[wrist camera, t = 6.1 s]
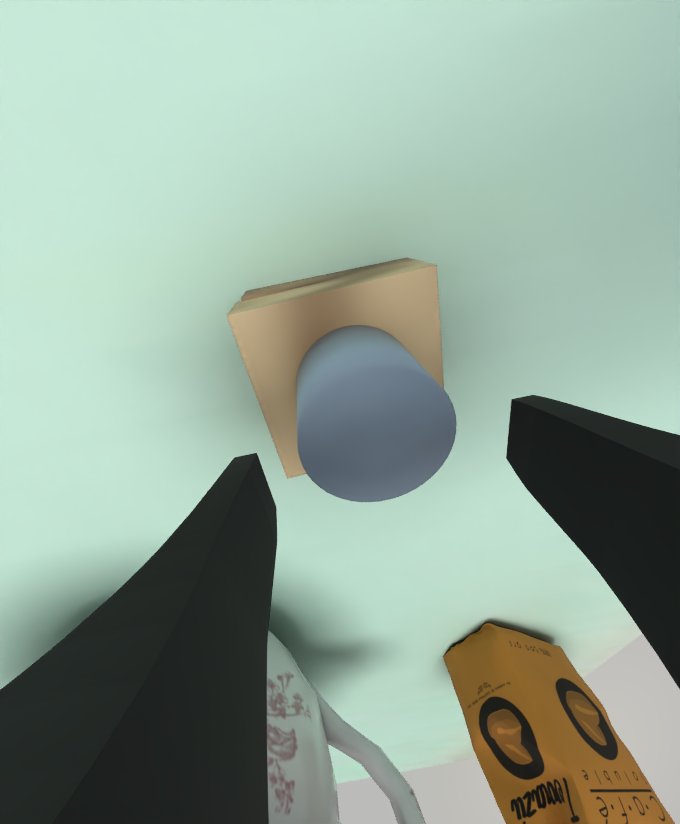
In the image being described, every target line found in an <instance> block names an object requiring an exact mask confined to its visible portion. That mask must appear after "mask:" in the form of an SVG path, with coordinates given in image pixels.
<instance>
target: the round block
mask: <svg viewBox="0 0 680 824" xmlns="http://www.w3.org/2000/svg"><path fill="white" fill-rule="evenodd" d="M455 434H456V415H455V411H454V407H453V404H452V402H451V400H450V398H449V396H448V395H447V393H446V392H445V391H444V389H443V388H442V387H441V386H440V385H439V384H438V383H437V382H436V381H435V380H434V378H433V377H432V376H431V375H430V374H429V373H428V372H427V371H426V370H425V369H424V368H423V367H422V366H421V364H420V363H419V362H418V361H417V360H416V359H415V358H414V357H413V356H412V355H411V354H410V353H409V352H408V350H407V349H406V348H405V347H404V346H403V345H402V344H401V343H400V342H399V341H398V340H397V339H396V338H395V337H394V336H392V335H391V334H389V333H388V332H386V331H384V330H382V329H379V328H376V327H372V326H367V325H351V326H345V327H341V328H338V329H335V330H333V331H331V332H329V333H327V334H325V335H324V336H322V337H321V338H320V339H318V340H317V341H316V342H315V343H314V344H313V345H312V346H311V347H310V348H309V350H308V351H307V352H306V354H305V355H304V357H303V359H302V361H301V363H300V366H299V369H298V374H297V445H298V454H299V458H300V461H301V463H302V466H303V468H304V470H305V471H306V473H307V474H308V476H309V477H310V478H311V479H312V481H313V482H314V483H316V484H317V485H318V486H319V487H320V488H322V489H323V490H325V491H326V492H328V493H330V494H332V495H334V496H336V497H339V498H342V499H346V500H350V501H358V502H376V501H383V500H388V499H392V498H395V497H399V496H401V495H403V494H406V493H408V492H410V491H412V490H414V489H416V488H417V487H419V486H420V485H422V484H423V483H425V482H426V481H427V480H428V479H430V478H431V477H432V476H433V475H434V474H435V473H436V472H437V471H438V470H439V468H440V467H441V466H442V465H443V463H444V462H445V460H446V458H447V457H448V455H449V453H450V451H451V449H452V446H453V443H454V440H455Z"/></svg>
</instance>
